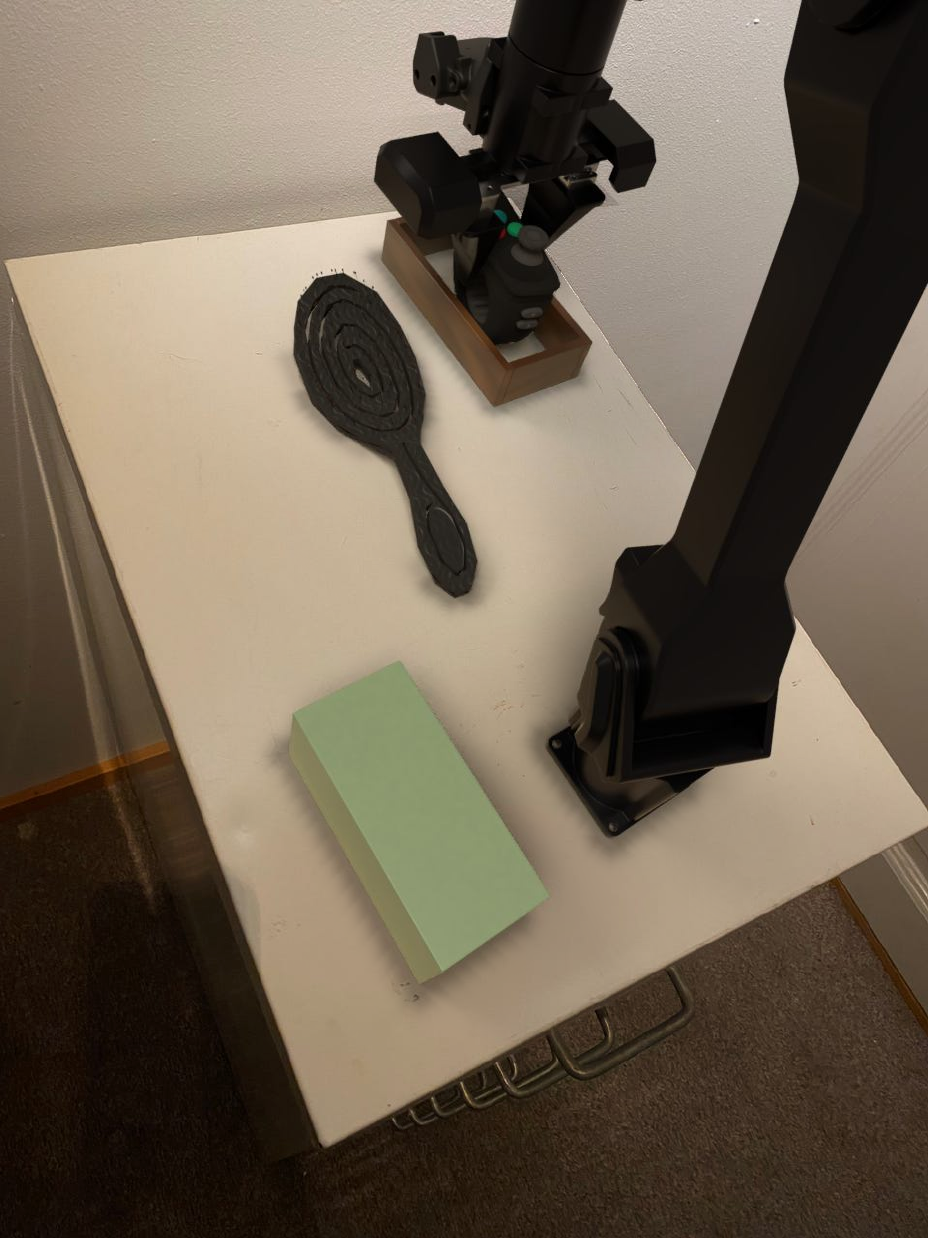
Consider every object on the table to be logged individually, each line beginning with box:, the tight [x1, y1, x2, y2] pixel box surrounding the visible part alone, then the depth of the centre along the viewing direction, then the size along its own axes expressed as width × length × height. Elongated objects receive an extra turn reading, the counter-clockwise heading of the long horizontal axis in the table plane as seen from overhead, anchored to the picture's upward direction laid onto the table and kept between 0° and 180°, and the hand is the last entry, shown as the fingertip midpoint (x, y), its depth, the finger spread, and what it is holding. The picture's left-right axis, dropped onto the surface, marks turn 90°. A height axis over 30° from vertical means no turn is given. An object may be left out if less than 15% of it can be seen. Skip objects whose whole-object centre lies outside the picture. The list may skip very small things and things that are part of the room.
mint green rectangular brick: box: [288, 659, 552, 985], centre depth 41 cm, size 13×6×6 cm, turn 33°
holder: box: [380, 216, 594, 407], centre depth 62 cm, size 16×8×4 cm, turn 33°
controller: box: [452, 190, 562, 346], centre depth 59 cm, size 4×12×10 cm, turn 23°
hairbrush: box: [292, 267, 478, 599], centre depth 54 cm, size 8×4×25 cm
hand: (490, 274), depth 60 cm, fingers closed on controller, 4 cm apart
